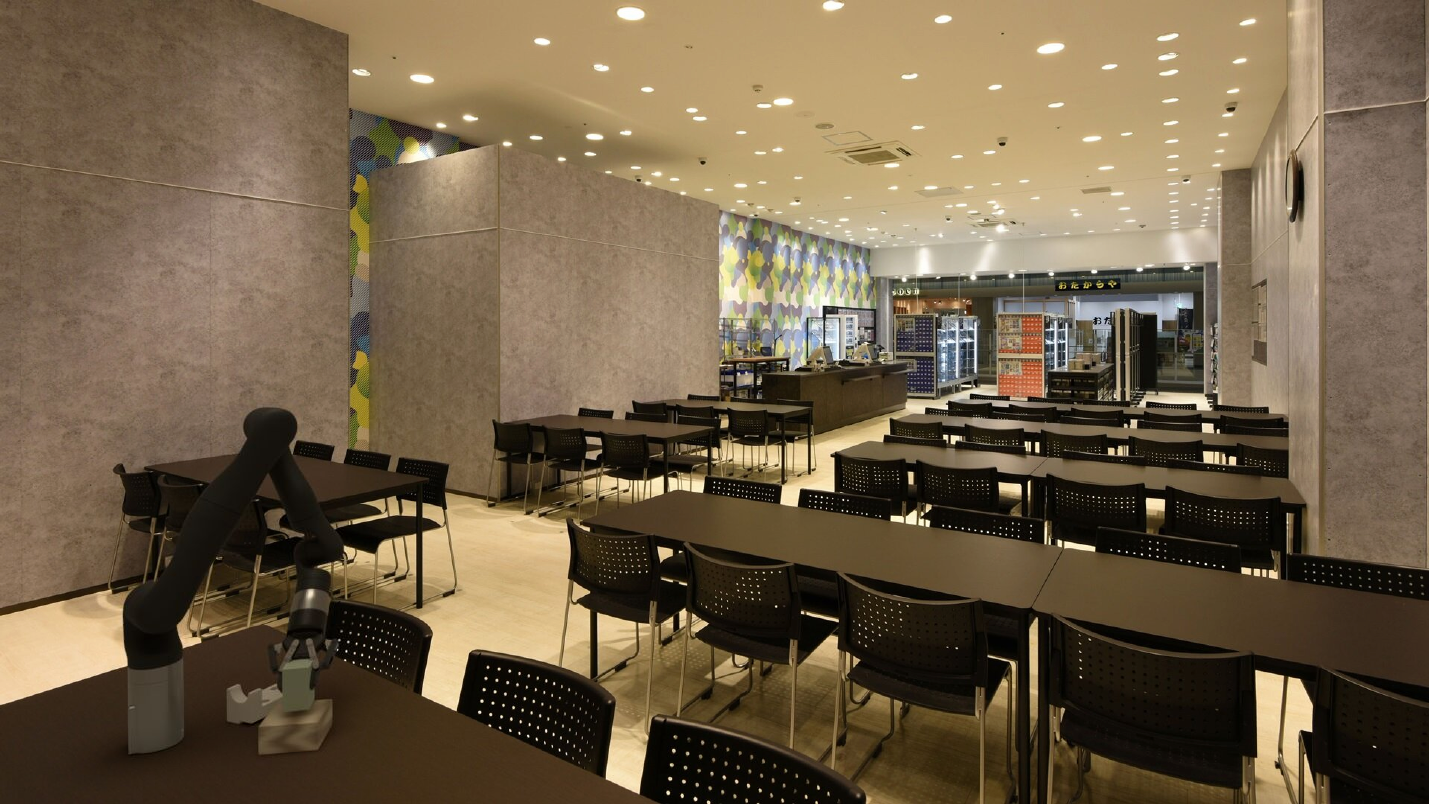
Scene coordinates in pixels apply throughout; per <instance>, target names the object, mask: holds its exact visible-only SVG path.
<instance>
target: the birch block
mask: <svg viewBox="0 0 1429 804" xmlns="http://www.w3.org/2000/svg"><path fill="white" fill-rule="evenodd" d="M332 726H333V698H329V699H327V698H326V699H316V700H315V699H314V701H313V703H312V705H311V707H310V709H308V710H298V711H289V712H283V703H277V704H276V705H275V706H274V708H273V709H272V710H271V711H270V713H269V714H268V715H267V716H266V717H264V718H263V720H262V722H261V723H260V724H259V725H258V733H257V735H258V737H257V738H258V744H257V745H258V756H261V755H262V756H264V755H273V754H284V753H294V752H295V753H297V752H308V751H309V752H310V751H318V750H319V748H320V747H321V745H322V743H323V741H324V740H325V738H326V736H327V735H328V734H329V731H330V729H331V728H332Z"/></svg>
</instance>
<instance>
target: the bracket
mask: <svg viewBox="0 0 1429 804" xmlns="http://www.w3.org/2000/svg"><path fill="white" fill-rule="evenodd" d="M277 703H283V697H282V693H281V692H280V690H278V688H277V683H275V684H272V685H270V686H268V687H266V688H264V689H262V688H259V687H258V688H256V689H254V690H252V691H250V692H248V694H247V696H246V695H245V693H243V690H242V687H241V684H238V683H237V684H235V685H233V686H231V687H228V688H226V721H227V722H229V723H230V722H231V723H233V724H238V725H239V724H242V723H248V724H253V723H255V722H258V721H259V720H261V719H265V718H266V717H267V715H268V714H269V713H270V711H271V710H272V709H273V708H274V706H275V705H276V704H277Z"/></svg>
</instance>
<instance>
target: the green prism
mask: <svg viewBox="0 0 1429 804" xmlns="http://www.w3.org/2000/svg"><path fill="white" fill-rule="evenodd" d="M312 664H313V660H311V659H299V660H292V661H290V662H289V663H286V665H285V666H284V668H283V669H282V697H283V712H289V711H298V710H308V709H310V707H311V705H312V703H313V701H314V700H315V689H314V690H310V688H309V684H310V678H311V671H312V669H313V666H312Z"/></svg>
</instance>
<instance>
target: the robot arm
mask: <svg viewBox="0 0 1429 804" xmlns="http://www.w3.org/2000/svg"><path fill="white" fill-rule="evenodd" d="M298 429H299V427H298V421H297V418H296V416H295V415H294V414H293V413H292V412H291V411H289V410H287V409H286V408H282V407H274V406H273V407H271V406H269V407H268V406H265V407H264V406H263V407H258V408H255V409H252V410H251V411H250V412H249V413H248V414H247V415H246V416H245V418H244V420H243V423H242V430H243V434H244V435H245V437H246V440H245V442H244V443H243V445H242V447H241V449H240V450H239V452H238V453H237V455H236V456H235V458H234V459H233V460H232V462H231V463H229V465H228V466H226V467H225V468H224V470H223V471H222V472H221V473H220V474H218V475H217V476H216V477H215V478H214V479H213V480H212V481H211V482H210V483H209V484H208V485H207V486H206V487H205V489H204V490H203V491H202V493H201V494H200V495H199V497H198V498H197V499H196V501H195V503H194V504H193V506H192V508H190V511H189V512H188V514H187V515H186V518H185V519H184V521H183V523H182V527H181V529H180V531H179V532H180V533H179V535H178V538H177V539H178V540H177V542H176V546H175V549H174V552H173V554H172V558H171V559H170V561H169V563H168V564H167V566H166V568H165V569H164V571H163V572H162V573H161V575H160V576H159V578H158V579H157V580H156V581H147V582H144V583H141V584H139V585H137V586H136V587H134V588H133V589H132V590H131V591H130V592H129V593H128V595H127V596H126V597H125V599H124V601H123V602H124V603H123V606H122V630H123V631H122V633H123V647H124V652H125V656H126V661H127V665H126V666H127V728H128V729H127V730H128V731H127V733H128V734H127V735H128V739H127V740H128V742H127V744H128V746H127V748H128V751H127V752H128V755H133V754H149V753H155V752H158V751H162V750H165V749H169V748H171V747H174V746H175V745H177V744H179V743H180V742H181V741H182V740H183V739H184V738H185V717H184V716H185V713H184V710H185V709H184V708H185V707H184V705H185V702H184V701H185V700H184V697H185V696H184V645H183V643H182V640H181V638H180V634H179V630H178V625H179V624H180V623H181V622H182V620H184V618H185V617H186V614H187V612H188V611H189V609H190V607H191V605H192V603H193V602H194V599H195V597H196V595H197V592H198V590H199V588H200V586H201V584H202V583H203V581H204V578H205V577H206V575H207V573H208V571H209V570H210V569H211V567H212V565H213V564H214V562H215V561H216V559H217V557H218V556H219V554H220V553H221V552H222V550H223V548H224V546H226V544H227V542H228V540H229V539H230V538H231V536H232V534H233V533H234V531H235V530H236V528H238V527H237V526H238V525H239V523H240V522H241V520H242V519H243V516H244V515H245V513H246V512H247V510H248V508H249V506H250V504H251V503H252V501H253V499H254V498H255V496H257V493H258V492H259V490H260V488H261V486H262V485H263V483H264V481H265V480H266V478H267V476H268V475H269V478H270V479H271V482H272V484H273V486H274V488H275V491H276V493H277V496H278V498H279V500H280V503H281V505H282V508H283V511H284V513H285V516H286V518H287V519H288V522H289V526H290V527H291V529H292V530H293V531H294V532H295V533H308V534H311V535H313V536H312V537H307V538H304V539H301V540H300V541H298V543H297V544H296V545H295V547H294V549H293V558H294V565H295V572H296V586H295V591H294V596H293V598H292V599H293V600H292V602H291V606H290V612H289V617H288V623H287V628H286V634H285V637H284V639H283V641H282V642H281V643H277V644H274V643H269V644H268V645H267V653H268V661H269V670H270V671H271V673H272V674H273V675H277V676H278V678H277V682H276V684H277V688H278V690H280V692H281V693H282V669H283V668H284V666H285V665H286V663H289V662H290V661H292V660H299V659H311V660H313V664H312V666H313V669H312V671H311V678H310V684H309V688H310V690H314V691H315V688H317V687H318V686H319V685H318V684H319V680H320V679H319V677H320V672H322V671H324V670H326V671H327V670H329V669H330V668H331V666H332V664H333V661H334V658H335V656H336V654H337V651H338V649H339V642H338V639H337V638H333V639H327V638H326V635H325V634H326V629H327V621H328V615H329V613H330V612H329V610H330V609H329V608H330V607H329V606H330V590H331V584H332V575H331V574H330V572H329V571H328V570H326V569H323V568H318V567H321V566H324V565H328V564H332V563H336V562H338V561H339V560H341V559H342V557H344V556H343V555H344V553H345V545H344V541H343V539H342V537H341V536H340V534H339V533H338V532H337V530H336V529H335V528H334V526H332V524H331V523H330V522H329V520H328V519H327V518H326V517H325V515H324V514H323V511H322V509H321V505H320V504H319V501H318V498H317V496H316V494H315V491H314V489H313V488H312V486H311V485H310V483H309V481H308V480H307V478H306V476H305V475H304V474H303V472H302V470H301V469H300V467H299V466H298V464H297V462H296V460H295V457H294V455H293V453H292V451H291V447H290V445H291V444H292V443H293V441H294V440H295V438H296V436H297V433H298ZM324 647H325V648H326V650H327V651H326V653H325V655H324V658H323V660H322V661H321V662H319V658H318V656H317V654H319V653H320V651H321V650H322V649H324ZM282 650H284V651H285V653H286V654H285V656H284V658H283V661H282V663H281V665H279V664H278V663H279V662H278V655H280V654H281V651H282Z"/></svg>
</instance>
